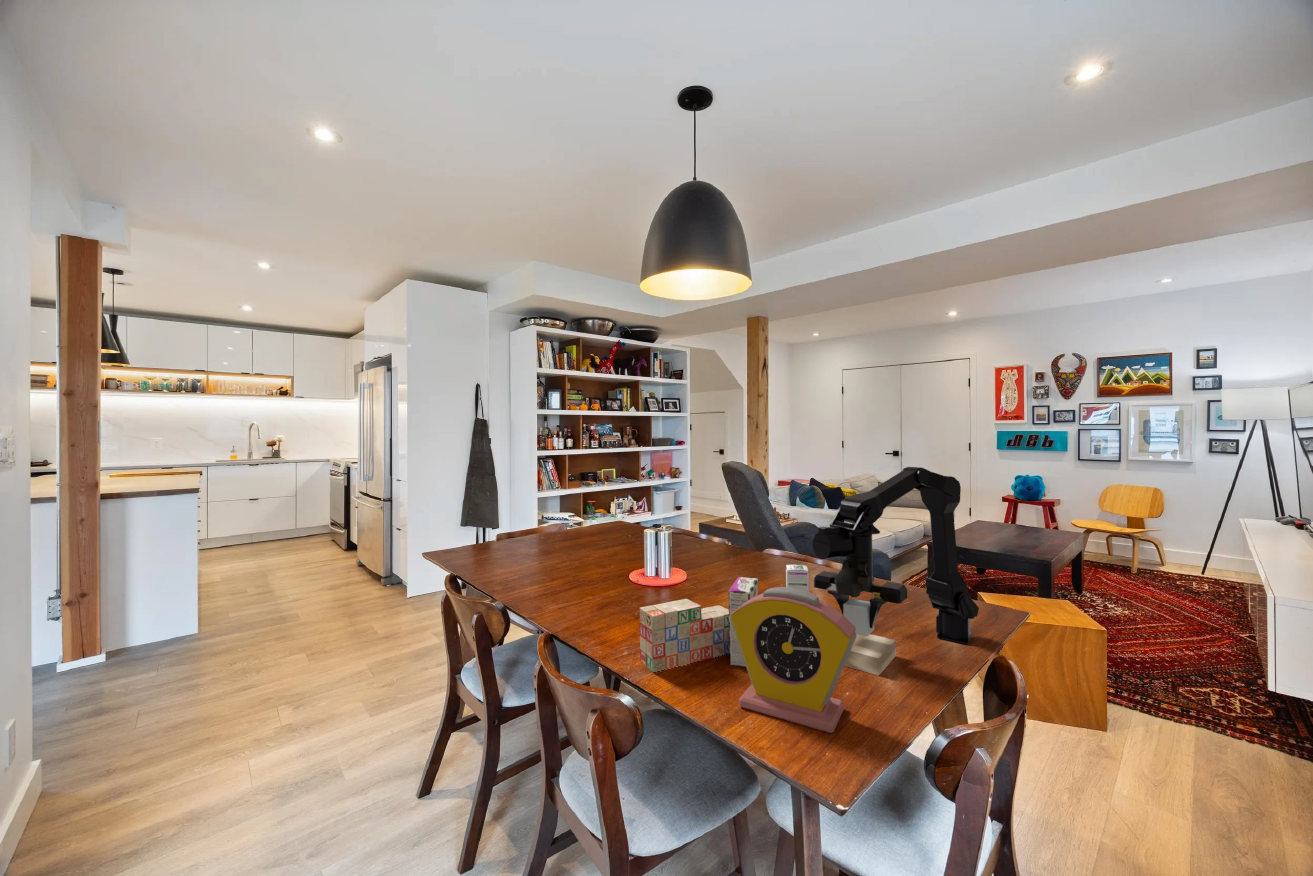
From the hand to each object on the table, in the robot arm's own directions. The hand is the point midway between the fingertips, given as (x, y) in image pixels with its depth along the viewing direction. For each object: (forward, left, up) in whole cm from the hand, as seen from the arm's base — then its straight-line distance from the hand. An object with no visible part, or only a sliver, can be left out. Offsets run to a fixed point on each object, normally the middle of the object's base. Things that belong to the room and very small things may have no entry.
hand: (858, 624), depth 112 cm
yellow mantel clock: (+2, +29, -8) cm, 30 cm away
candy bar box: (+20, +16, -8) cm, 26 cm away
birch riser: (0, 0, -8) cm, 8 cm away
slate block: (0, 0, -1) cm, 1 cm away
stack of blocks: (+29, +24, -8) cm, 39 cm away
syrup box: (+20, -12, -8) cm, 24 cm away
